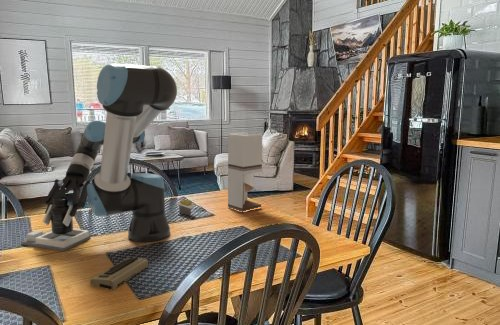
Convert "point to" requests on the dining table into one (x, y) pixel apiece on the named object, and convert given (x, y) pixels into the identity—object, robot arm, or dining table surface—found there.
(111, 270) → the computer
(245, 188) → the notched beige pillar
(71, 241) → the charging dock
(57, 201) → the supplement bottle
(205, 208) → the dining table surface
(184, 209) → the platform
